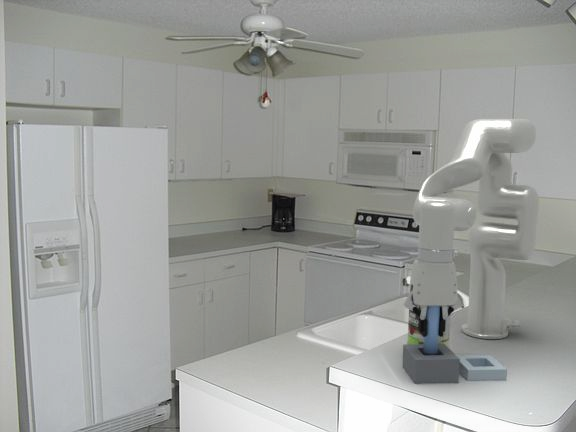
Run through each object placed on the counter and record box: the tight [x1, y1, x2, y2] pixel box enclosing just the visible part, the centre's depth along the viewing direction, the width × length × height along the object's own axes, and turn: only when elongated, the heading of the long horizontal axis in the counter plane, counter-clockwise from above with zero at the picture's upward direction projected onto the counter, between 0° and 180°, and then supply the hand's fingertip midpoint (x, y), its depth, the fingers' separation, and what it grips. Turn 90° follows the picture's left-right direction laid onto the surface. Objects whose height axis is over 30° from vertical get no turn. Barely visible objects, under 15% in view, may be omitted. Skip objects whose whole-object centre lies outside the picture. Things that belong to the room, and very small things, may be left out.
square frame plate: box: [456, 354, 508, 382], centre depth 140 cm, size 9×9×3 cm
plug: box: [423, 306, 440, 355], centre depth 137 cm, size 3×3×12 cm
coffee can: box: [406, 302, 452, 349], centre depth 149 cm, size 10×10×14 cm
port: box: [402, 343, 460, 385], centre depth 138 cm, size 10×10×6 cm
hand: (431, 334), depth 137 cm, fingers closed on plug, 3 cm apart
